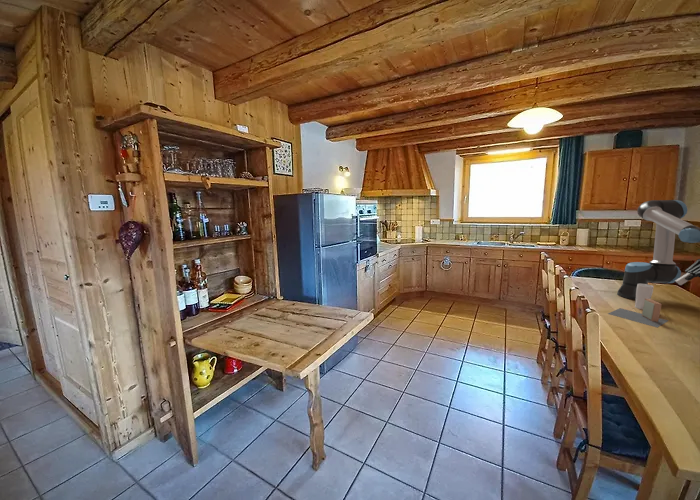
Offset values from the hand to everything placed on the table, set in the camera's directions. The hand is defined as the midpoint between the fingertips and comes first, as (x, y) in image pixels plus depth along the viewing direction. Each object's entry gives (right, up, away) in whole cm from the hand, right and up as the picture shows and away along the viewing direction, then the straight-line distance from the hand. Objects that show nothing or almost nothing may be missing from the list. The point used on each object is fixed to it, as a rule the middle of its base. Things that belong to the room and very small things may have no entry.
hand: (677, 282), depth 147 cm
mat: (-14, -21, +8) cm, 26 cm away
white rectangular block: (+2, -18, +20) cm, 28 cm away
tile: (-9, -20, +6) cm, 23 cm away
